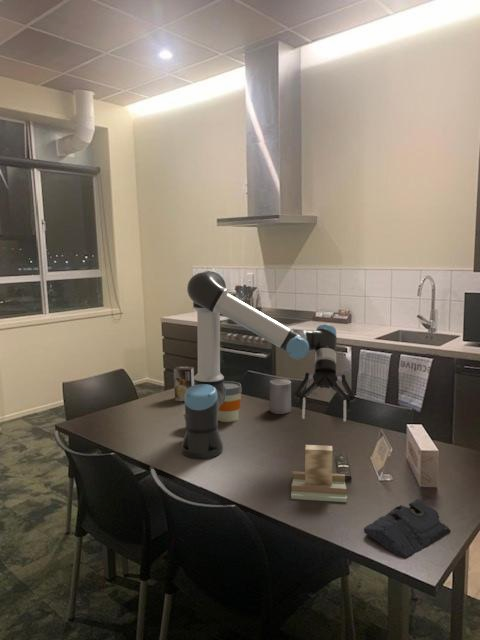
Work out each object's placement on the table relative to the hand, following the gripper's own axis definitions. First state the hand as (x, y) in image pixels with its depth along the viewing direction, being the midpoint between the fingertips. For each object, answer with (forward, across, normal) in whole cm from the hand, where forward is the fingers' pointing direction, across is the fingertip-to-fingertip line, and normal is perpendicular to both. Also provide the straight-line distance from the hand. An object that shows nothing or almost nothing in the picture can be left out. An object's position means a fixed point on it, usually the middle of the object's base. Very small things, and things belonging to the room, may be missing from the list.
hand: (323, 418), depth 162 cm
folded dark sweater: (+37, -21, +14) cm, 45 cm away
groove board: (+23, +1, 0) cm, 23 cm away
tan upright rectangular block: (+22, +1, +1) cm, 22 cm away
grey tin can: (-26, +19, -52) cm, 61 cm away
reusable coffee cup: (-17, +41, -42) cm, 61 cm away
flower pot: (-7, +52, -33) cm, 62 cm away
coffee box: (-34, +67, -60) cm, 97 cm away
